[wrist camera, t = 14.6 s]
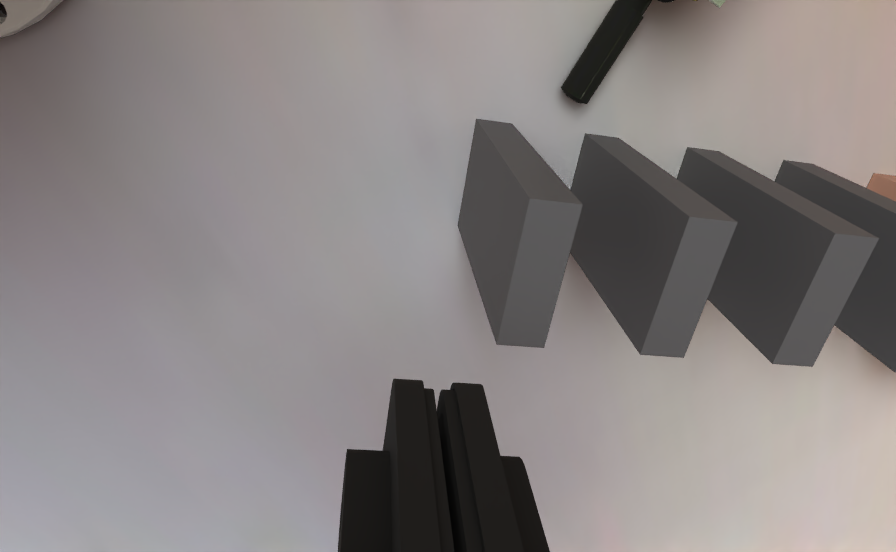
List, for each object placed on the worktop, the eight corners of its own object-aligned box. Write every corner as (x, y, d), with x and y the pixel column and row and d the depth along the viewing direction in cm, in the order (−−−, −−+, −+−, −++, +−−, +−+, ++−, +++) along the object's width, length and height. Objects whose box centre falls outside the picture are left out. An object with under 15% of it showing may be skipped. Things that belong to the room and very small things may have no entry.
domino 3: (654, 245, 30) (772, 363, 21) (687, 147, 28) (835, 233, 19) (683, 248, 30) (812, 366, 21) (718, 151, 28) (879, 238, 19)
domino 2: (558, 235, 29) (640, 354, 20) (585, 133, 27) (689, 216, 18) (589, 238, 29) (683, 357, 20) (618, 137, 27) (737, 222, 18)
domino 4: (744, 254, 31) (894, 372, 22) (783, 160, 28) (968, 248, 20) (772, 257, 31) (931, 374, 22) (813, 164, 29) (1008, 252, 20)
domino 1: (457, 225, 28) (496, 344, 19) (476, 118, 26) (529, 198, 17) (490, 228, 28) (544, 347, 20) (511, 123, 26) (582, 204, 17)
